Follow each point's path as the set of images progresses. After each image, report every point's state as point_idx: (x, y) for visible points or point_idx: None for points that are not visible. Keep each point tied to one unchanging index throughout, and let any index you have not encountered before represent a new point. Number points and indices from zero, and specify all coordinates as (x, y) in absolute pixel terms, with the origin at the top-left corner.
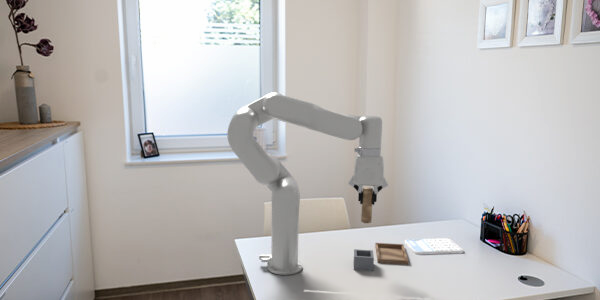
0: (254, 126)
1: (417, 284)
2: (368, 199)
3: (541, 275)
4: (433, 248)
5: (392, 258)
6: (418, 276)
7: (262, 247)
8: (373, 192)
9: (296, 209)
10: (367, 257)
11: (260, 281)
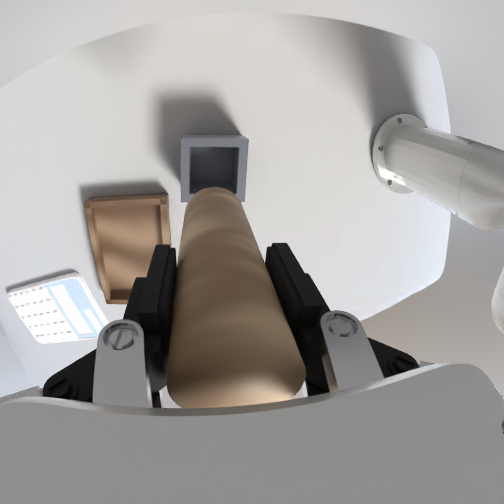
0: None
1: (76, 93)
2: (216, 263)
3: None
4: (49, 297)
5: (127, 230)
6: (68, 141)
7: (422, 250)
8: (158, 343)
9: None
10: (202, 139)
11: (438, 95)
